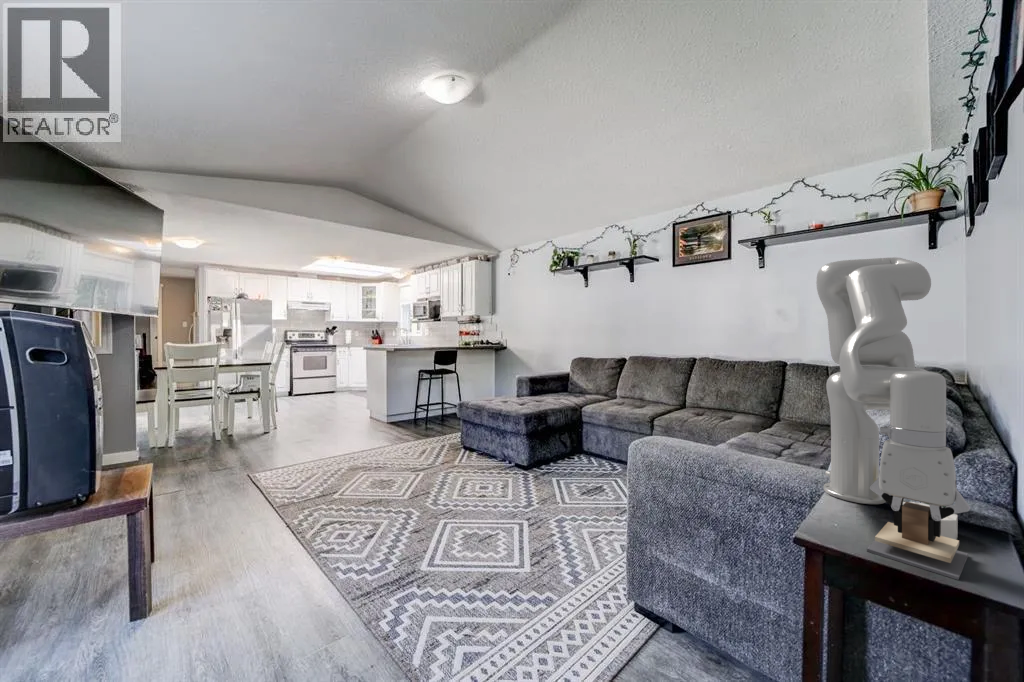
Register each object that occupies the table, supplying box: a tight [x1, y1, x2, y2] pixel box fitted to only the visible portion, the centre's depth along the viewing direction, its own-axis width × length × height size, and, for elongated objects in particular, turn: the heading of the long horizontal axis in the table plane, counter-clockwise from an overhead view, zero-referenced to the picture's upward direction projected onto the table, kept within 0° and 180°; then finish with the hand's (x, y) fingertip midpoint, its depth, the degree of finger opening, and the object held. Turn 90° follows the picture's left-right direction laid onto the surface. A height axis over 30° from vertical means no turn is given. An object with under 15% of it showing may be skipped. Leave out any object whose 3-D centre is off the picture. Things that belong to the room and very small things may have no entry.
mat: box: [866, 539, 969, 581], centre depth 79 cm, size 12×12×1 cm
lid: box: [874, 501, 960, 563], centre depth 79 cm, size 10×10×7 cm
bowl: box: [903, 501, 959, 540], centre depth 87 cm, size 9×9×4 cm
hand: (916, 533), depth 79 cm, fingers closed on lid, 3 cm apart
